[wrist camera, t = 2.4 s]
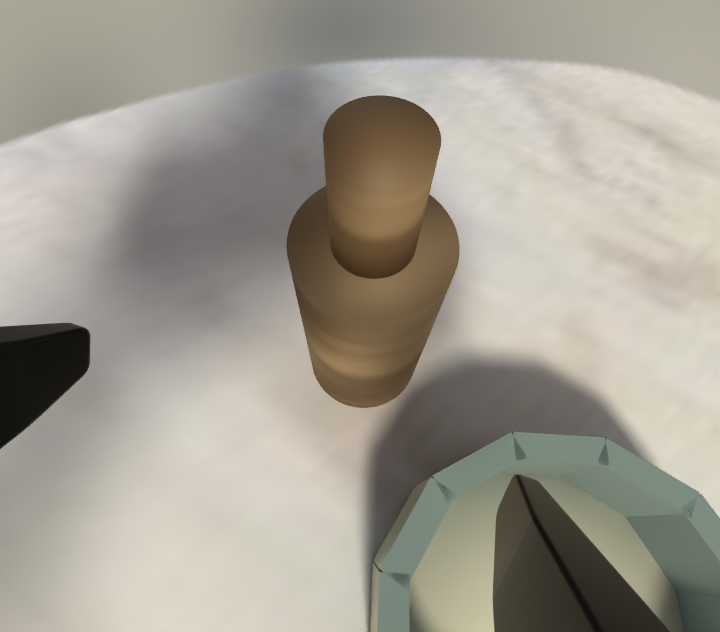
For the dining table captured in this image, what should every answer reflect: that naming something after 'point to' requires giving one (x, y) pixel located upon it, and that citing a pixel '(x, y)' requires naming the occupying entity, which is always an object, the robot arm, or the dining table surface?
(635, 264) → the dining table surface
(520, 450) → the bowl
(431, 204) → the walnut bottle
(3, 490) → the dining table surface
